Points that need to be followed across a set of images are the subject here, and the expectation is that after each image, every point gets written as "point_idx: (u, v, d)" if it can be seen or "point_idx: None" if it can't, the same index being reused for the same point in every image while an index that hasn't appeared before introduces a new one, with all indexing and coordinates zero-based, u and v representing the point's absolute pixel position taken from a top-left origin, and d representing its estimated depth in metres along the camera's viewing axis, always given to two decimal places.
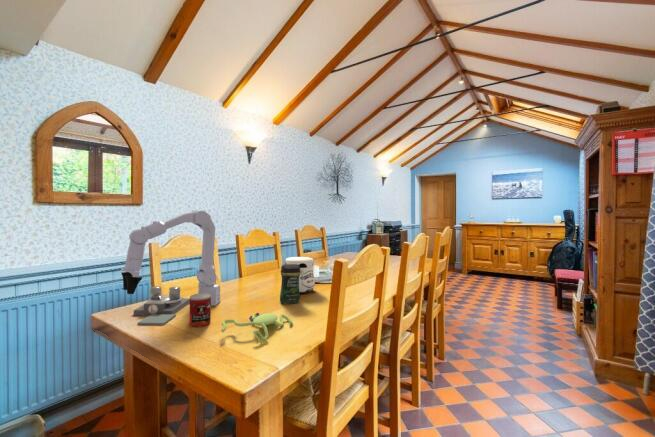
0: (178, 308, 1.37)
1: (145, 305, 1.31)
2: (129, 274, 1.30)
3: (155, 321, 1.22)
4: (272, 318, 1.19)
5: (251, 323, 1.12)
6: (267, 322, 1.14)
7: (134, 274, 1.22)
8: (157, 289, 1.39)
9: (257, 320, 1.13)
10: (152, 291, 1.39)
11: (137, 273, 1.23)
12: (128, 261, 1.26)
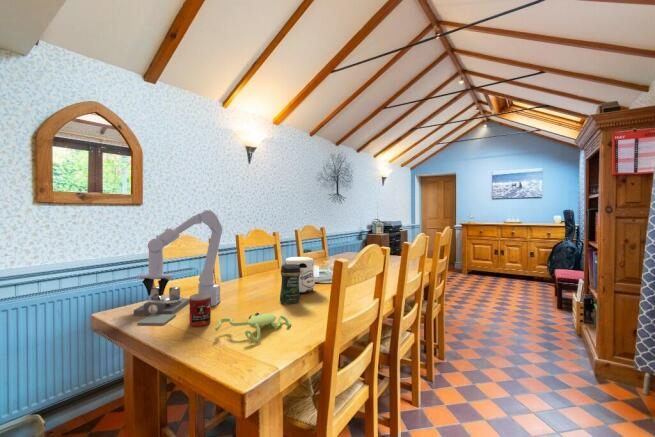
0: (178, 308, 1.37)
1: (145, 305, 1.31)
2: (150, 280, 1.41)
3: (155, 321, 1.22)
4: (268, 319, 1.18)
5: (245, 323, 1.12)
6: (262, 323, 1.13)
7: (171, 277, 1.40)
8: (157, 289, 1.39)
9: (251, 320, 1.13)
10: (152, 291, 1.39)
11: (172, 276, 1.41)
12: (156, 268, 1.38)
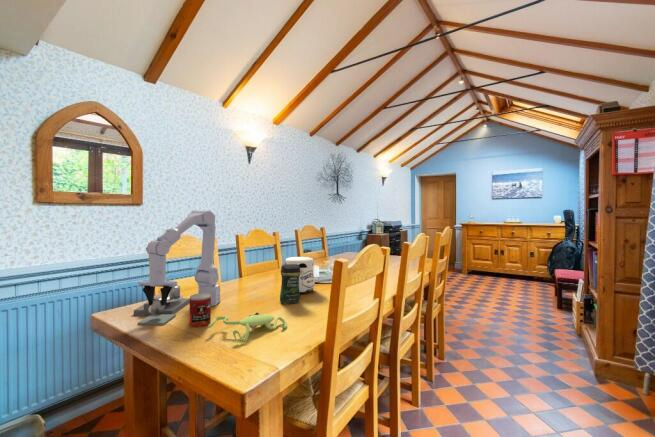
0: (178, 308, 1.37)
1: (145, 305, 1.31)
2: (151, 288, 1.25)
3: (155, 321, 1.22)
4: (262, 320, 1.17)
5: (237, 322, 1.12)
6: (253, 323, 1.13)
7: (175, 284, 1.24)
8: (161, 301, 1.24)
9: (243, 320, 1.13)
10: (155, 303, 1.23)
11: (176, 283, 1.25)
12: (158, 274, 1.22)
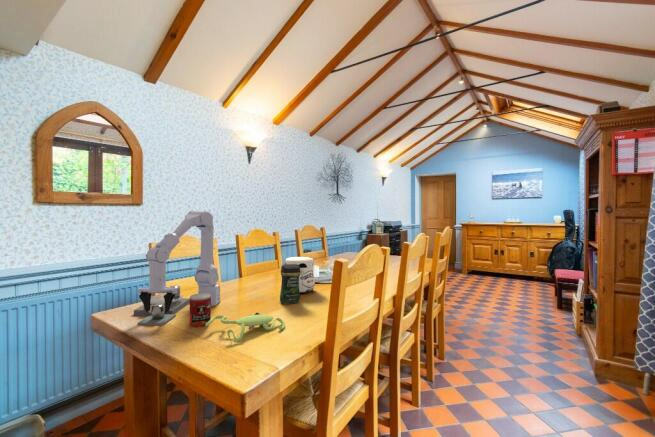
0: (178, 308, 1.37)
1: None
2: (148, 295, 1.25)
3: (155, 321, 1.22)
4: (260, 320, 1.17)
5: (233, 322, 1.13)
6: (249, 323, 1.13)
7: (175, 291, 1.24)
8: (161, 307, 1.24)
9: (240, 320, 1.13)
10: (156, 310, 1.23)
11: (176, 289, 1.25)
12: (158, 281, 1.22)
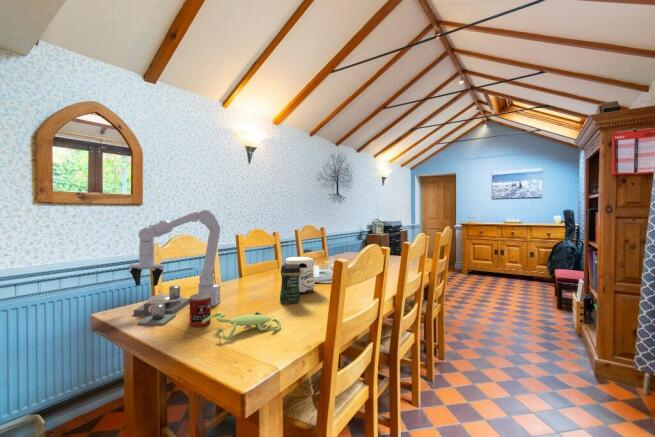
0: (178, 308, 1.37)
1: (145, 305, 1.31)
2: (138, 270, 1.38)
3: (155, 321, 1.22)
4: (254, 320, 1.16)
5: (227, 320, 1.14)
6: (242, 323, 1.13)
7: (162, 267, 1.38)
8: (161, 307, 1.24)
9: (233, 319, 1.14)
10: (156, 310, 1.23)
11: (163, 266, 1.39)
12: (147, 258, 1.36)
